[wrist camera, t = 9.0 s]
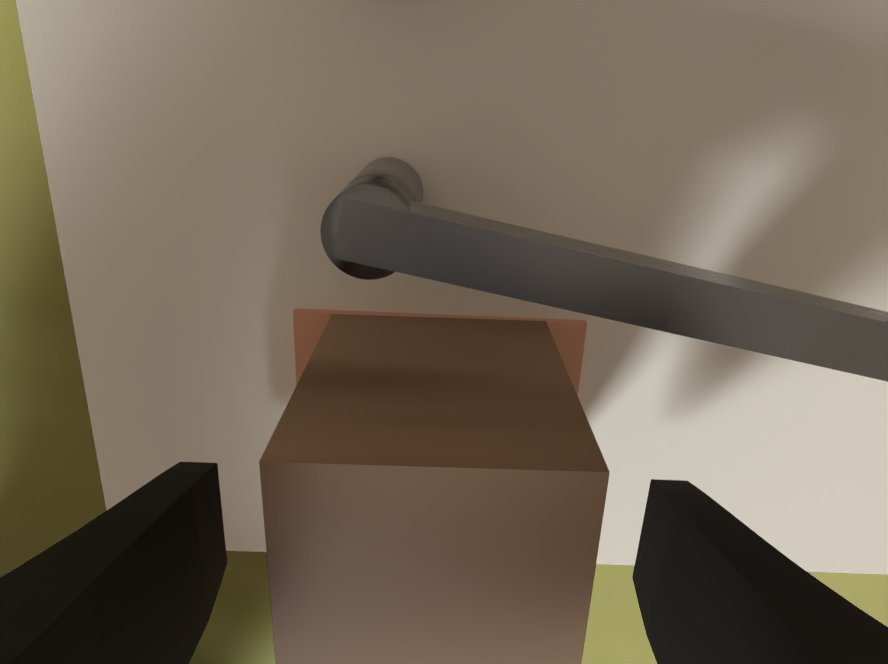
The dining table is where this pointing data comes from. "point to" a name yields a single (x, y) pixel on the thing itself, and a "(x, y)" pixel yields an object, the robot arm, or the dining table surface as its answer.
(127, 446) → the board
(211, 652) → the dining table surface
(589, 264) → the bent wire
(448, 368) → the walnut block
